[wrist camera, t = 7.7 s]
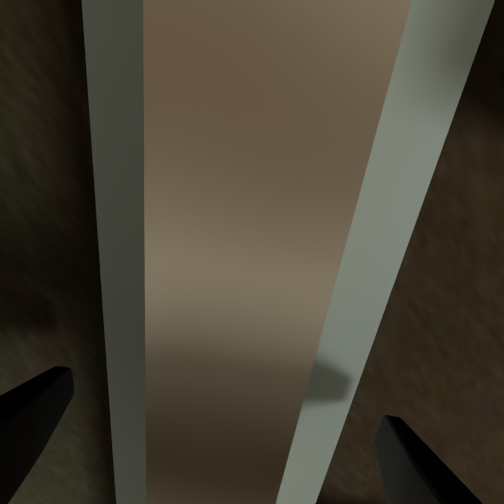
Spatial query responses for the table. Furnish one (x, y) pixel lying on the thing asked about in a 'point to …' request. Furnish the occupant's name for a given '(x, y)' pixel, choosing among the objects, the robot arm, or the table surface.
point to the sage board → (357, 246)
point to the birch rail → (248, 222)
